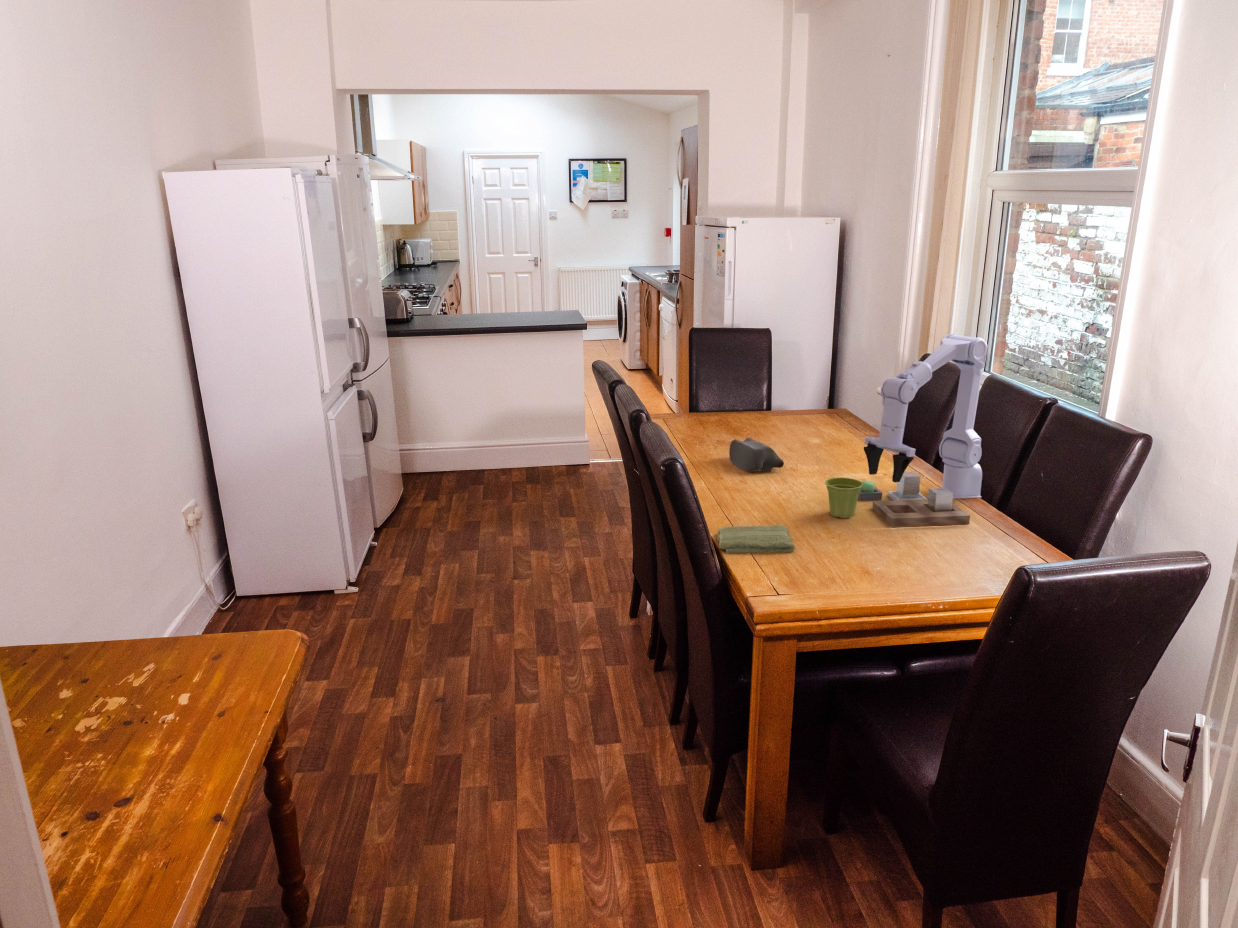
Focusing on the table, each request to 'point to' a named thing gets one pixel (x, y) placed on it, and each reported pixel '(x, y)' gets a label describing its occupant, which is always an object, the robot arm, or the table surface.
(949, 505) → the seated billet
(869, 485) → the button
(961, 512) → the board
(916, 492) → the billet
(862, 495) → the button housing
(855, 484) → the plant pot
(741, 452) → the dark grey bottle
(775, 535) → the washcloth
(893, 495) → the shallow grey tray
